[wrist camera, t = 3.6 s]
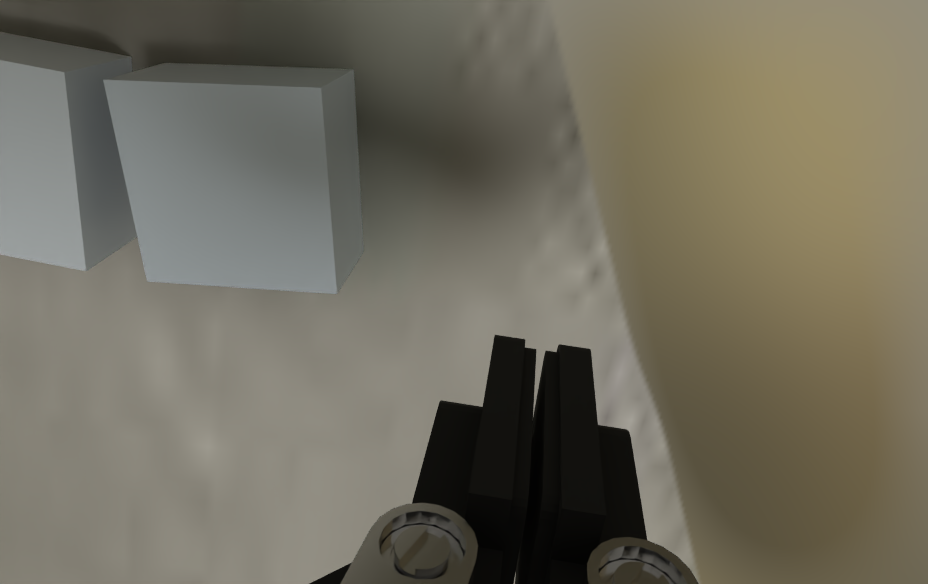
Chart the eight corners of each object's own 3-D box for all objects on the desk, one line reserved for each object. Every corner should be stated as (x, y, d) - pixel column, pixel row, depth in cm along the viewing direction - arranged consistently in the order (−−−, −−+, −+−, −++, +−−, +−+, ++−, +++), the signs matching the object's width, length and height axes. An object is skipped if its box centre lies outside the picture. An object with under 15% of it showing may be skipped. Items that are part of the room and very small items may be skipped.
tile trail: (168, 61, 21) (103, 79, 18) (355, 68, 20) (321, 87, 17) (199, 238, 24) (147, 281, 21) (365, 248, 23) (337, 294, 20)
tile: (-48, 20, 21) (-151, 31, 18) (135, 55, 21) (64, 72, 18) (-16, 198, 24) (-101, 234, 21) (146, 230, 24) (85, 271, 21)
